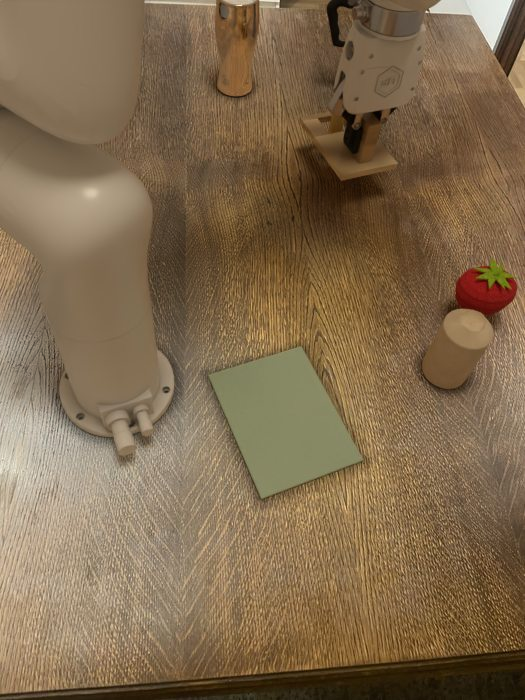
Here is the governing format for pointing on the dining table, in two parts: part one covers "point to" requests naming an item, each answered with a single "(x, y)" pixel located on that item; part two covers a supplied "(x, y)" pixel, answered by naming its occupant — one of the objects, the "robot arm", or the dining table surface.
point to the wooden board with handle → (338, 155)
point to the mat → (283, 421)
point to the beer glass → (236, 44)
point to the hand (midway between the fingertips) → (358, 145)
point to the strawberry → (486, 289)
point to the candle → (457, 348)
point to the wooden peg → (336, 124)
